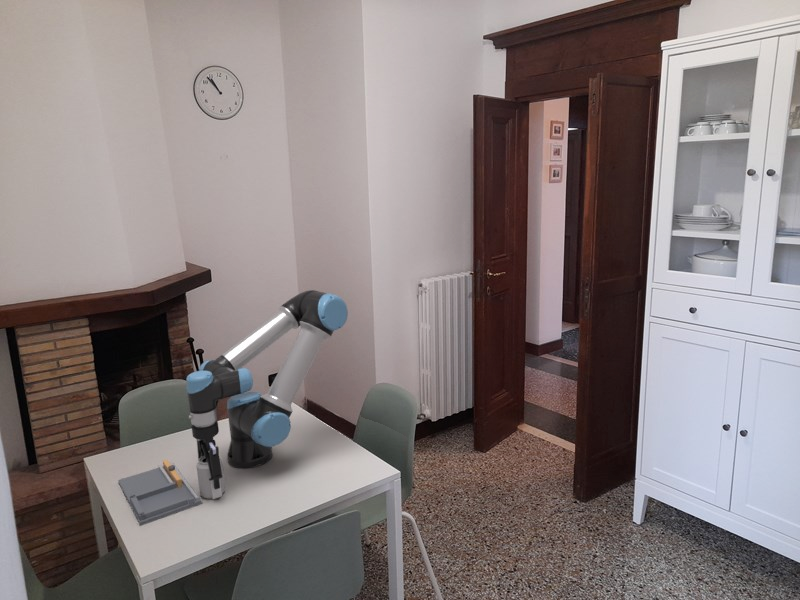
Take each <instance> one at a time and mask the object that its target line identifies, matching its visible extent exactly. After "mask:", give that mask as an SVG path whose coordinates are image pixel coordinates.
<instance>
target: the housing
mask: <svg viewBox="0 0 800 600" xmlns="http://www.w3.org/2000/svg"><path fill="white" fill-rule="evenodd" d="M169 463H170V464H171V465H174V466H175V471H176V472H177V474H178V475H179V476H180V478H181V479H182V486H181V487H177V486H176V483H175V482H174V481H173V480H172V479H171V477H170V476H169V474H168V473H167V471H166V470H165V469H164V467H163V465H162V464H159V465H158V466H157V468H153V469H149V470H147V471H143V472H140V473H136V474H134V475H131V476H130V475H129V476H126V477H123V478H120V479H118V484H119V486H120V488H121V491H122V492H123V493H124V497H125V498H126V500H127V502H128V504H129V506H130V508H131V510H132V512H133V514H134V516H135V518H136V519H137V522H138V523H139V525H140V527H141V526H143V525H146V524H149V523H152V522H154V521H158V520H159V519H163V518H166V517H168V516H171V515H174V514H177V513H180V512H183V511H185V510H188V509H190V508H193V507H196V506H199V505H202V504H203V502H202V499H201V497H199V495H198V494H197V492H196V491H195V490H194V489H193V487H192V486H191V485H190V483H189V482H188V481H187V479H186V478H185V477H184V475H183V474H182V472H181V471H180V470H179V469H178V467H177V466H176V465H175V463H174V462H172V461H169Z"/></svg>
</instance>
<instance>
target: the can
mask: <svg viewBox="0 0 800 600" xmlns="http://www.w3.org/2000/svg"><path fill="white" fill-rule="evenodd" d="M205 458H206V457H205V456H202V457H200V458H199V459H198V458H197V459H198V460H197V463H196V465H195V466H196V474H197V481H198V488H199V495H200V496H201V497H202V498H204V499H208V500H210V499H213V498H212V491H211V482H210V481H209V479H210V478H211V475H210V470H209V466H208V461H207V459H206V461H202V460H203V459H205ZM219 459H220V465H221V471H222V478H220V483H221V491H222V494H223V493H224V492H225V491H226V483H225V474H224V465H223V459H222V458H221V457H219Z"/></svg>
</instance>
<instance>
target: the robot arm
mask: <svg viewBox="0 0 800 600" xmlns="http://www.w3.org/2000/svg"><path fill="white" fill-rule="evenodd" d="M348 313H349V311H348V308H347V304H346V302H345V300H344V299H343V298H342V297H340V296H338V295H336V294H333V293H330V292H322V291H319V290H314V289H313V290H312V289H311V290H305V291H302V292H300V293H298V294H296V295H295V296H293V297H292V298H290V299H289V300H287V301H286V302H285V303H283V304H281V305H280V306H279V307H278V311H277V312H276V313H275V314H273V315H271V317H270V318H268V319H267V320H266V321H265V322H263V323H261V324H260V325H259V326H258V327H256V328H255V329H254V330H253V331H251V332H250V333H248V334H247V335H246V336H244V337H243V338H242V339H241V340H240V341H238V342H236V343H235V344H234V345H233V346H232V347H230V348H229V349H228V350H226V351H225V352H224V353H222V354H221V355H220V356H218V357H217V358H215V360H214V359H209V360H205V361H204V362H202V363H201V365H200V366H199V369H198V370H197V371H194V372H191V373H190V374H188V375H187V376H186V379H185V381H186V393H187V399H188V400H187V401H188V406H189V407H188V408H189V414H190V415H188V419H189V420H190V422H191V434H192V437H193V438H194V439H196V446H197V447H196V448H197V459H199V458H200V457H202V456H205V457H206V458H205V459H203V460H202V461H206V459H207V461H208V466H209V470H210V475H211V478H210V479H209V481H210V482H211V491H212V499H213V500H216V499H218V498H221V497H222V496H223V493H222V491H221V483H220V478H222V471H221V465H220V459H219V458H220V455H219V454H220V452H219V446H218V445H217V444H216V440H215V439H214V438H215V437H216V436H217V435H218V434H219V431H220V429H219V422H218V419H219V418H218V410H217V404H216V403H217V401H219V400H223V399H227V398H229V399H227V402H226V405H227V407H226V410H227V416H228V417H227V418H228V426H229V433H230V434H229V435H230V443H229V446H228V452H227V463H228V465H229V466H231V467H233V468H239V469H247V468H248V469H249V468H253V467H257V466H261V465H263V464H265V463H267V462H268V461H270V460H271V459H272V457H273V454H274V453H273V447H276V446H277V445H280V444H282V443H283V442H284V441H285V440H286V439H287V437H289V434H290V432H291V429H292V425H291V420H290V418H291V415H292V413H293V408H292V403H293V401H294V399H295V397H296V396H297V394H298V392H299V390H300V388H301V386H302V384H303V382H304V380H305V378H306V377H307V375H308V372H309V370H310V369H311V367H312V365H313V362H314V360H315V359H316V356H317V355H318V353H319V351H320V349H321V346H322V345H323V343H324V341H325V340H328V339H330V338H331V337H332V335H333V333H334V331H338V330H339V329H341V328H343V327H344V325H345V324H346V323H347V320H348ZM299 327H300V331H299V332H298V334H297V336H296V338H295V340H294V342H293V343H292V346H291V347H290V349H289V352H288V353H287V355H286V357H285V359H284V360H283V363H282V364H281V366H280V368H279V370H278V373H277V374H276V376H275V378H274V379H273V382H272V383H271V386H270V387H269V389H268V390H267V393H264V394H262V393H261V392H258V391H251V390H252V389H253V386H254V379H253V375H252V373H251V371H250V370H249V369H248V368H246V367H245V366H246V365H247V364H249V363H250V362H251V361H252V360H254V359H255V358H256V357H257V356H259V355H260V354H261V353H263V352H264V351H265V350H266V349H268V348H269V347H270V346H271V345H273V344H274V343H276V342H277V341H278V340H279V339H280V338H281V337H283V336H284V335H286V334H287V333H288V332H290V331H291V330H292V329H294V330H295V329H298V328H299Z"/></svg>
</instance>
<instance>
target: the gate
mask: <svg viewBox="0 0 800 600" xmlns="http://www.w3.org/2000/svg"><path fill="white" fill-rule="evenodd" d="M169 462H170V461H169V460H168V459H164V460H162V466H163V467H164V469H165V470H166V471H167V473H168V474H169V476H170V477H171V479H172V480H173V481H174V482H175V483H176V486H177V487H181V486H182V479H181V478H180V476H179V475H178V474H177V472H176V471H175V466H176V465H175V464H174V465H175V466H174V465H171V464H170V463H169Z"/></svg>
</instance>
